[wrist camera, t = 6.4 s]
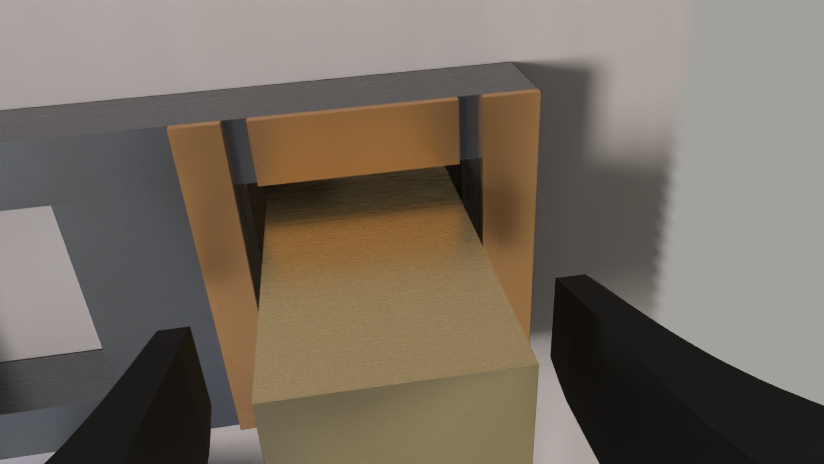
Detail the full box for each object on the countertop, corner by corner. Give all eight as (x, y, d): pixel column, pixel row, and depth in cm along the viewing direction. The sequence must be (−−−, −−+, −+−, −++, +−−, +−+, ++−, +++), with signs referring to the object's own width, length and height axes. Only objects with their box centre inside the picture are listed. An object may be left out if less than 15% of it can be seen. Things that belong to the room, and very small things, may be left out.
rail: (504, 335, 20) (527, 387, 18) (-99, 419, 18) (-146, 487, 16) (510, 62, 16) (541, 91, 14) (-268, 136, 14) (-356, 182, 12)
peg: (439, 284, 18) (526, 544, 12) (291, 302, 18) (290, 584, 11) (435, 148, 16) (538, 364, 10) (269, 165, 16) (251, 403, 9)
